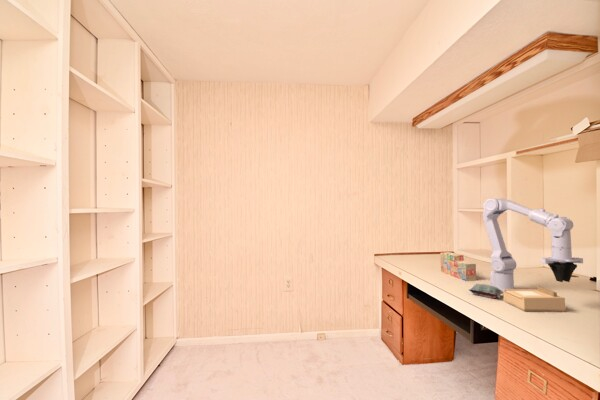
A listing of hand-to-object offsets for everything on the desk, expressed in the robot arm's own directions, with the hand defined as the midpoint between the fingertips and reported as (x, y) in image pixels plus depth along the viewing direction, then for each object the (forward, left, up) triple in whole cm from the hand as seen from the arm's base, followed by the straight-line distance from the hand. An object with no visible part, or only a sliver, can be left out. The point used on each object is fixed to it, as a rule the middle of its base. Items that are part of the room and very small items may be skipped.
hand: (562, 281), depth 106 cm
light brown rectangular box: (0, -12, -10) cm, 16 cm away
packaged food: (-14, -21, -10) cm, 27 cm away
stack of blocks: (-48, -16, -10) cm, 52 cm away
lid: (0, -12, -5) cm, 13 cm away
